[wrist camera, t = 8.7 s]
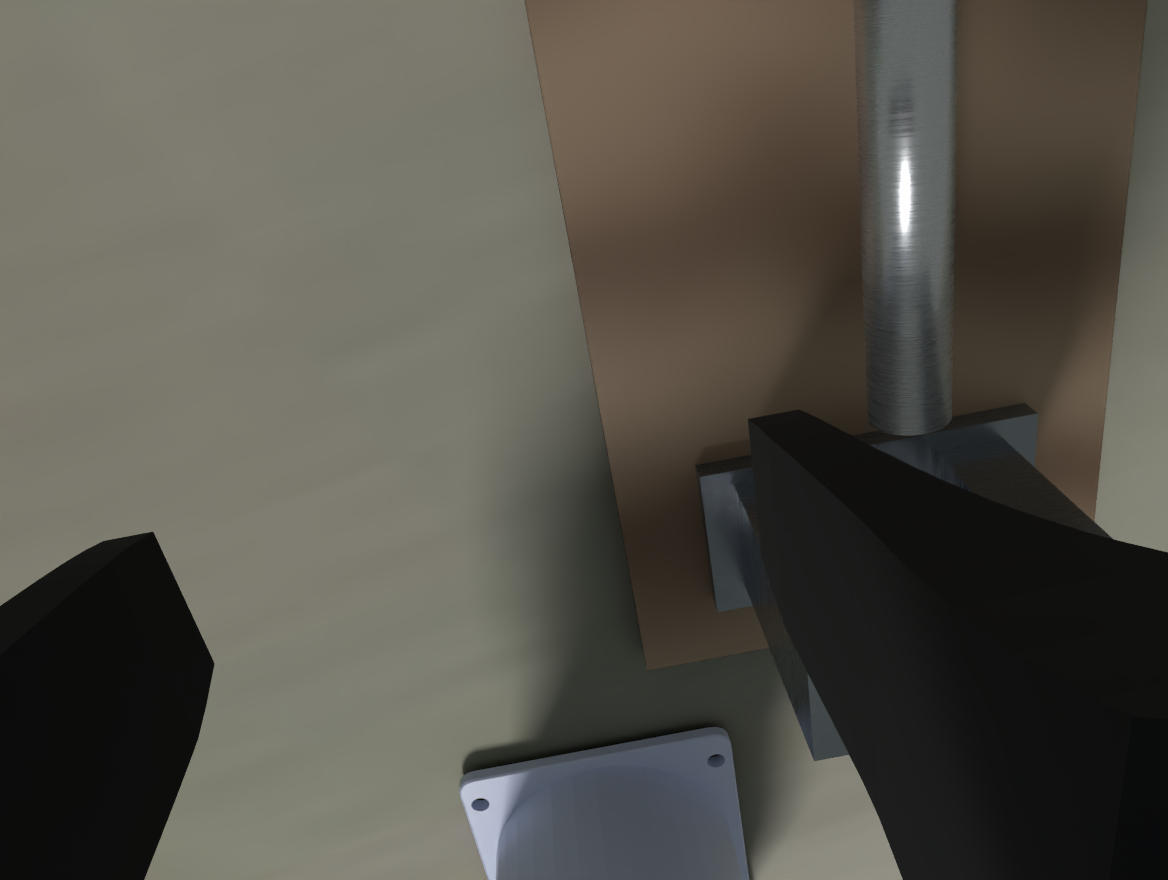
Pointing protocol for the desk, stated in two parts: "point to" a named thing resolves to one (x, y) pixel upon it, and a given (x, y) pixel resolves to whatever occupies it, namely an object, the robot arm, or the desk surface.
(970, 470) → the slotted metal block
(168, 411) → the desk surface
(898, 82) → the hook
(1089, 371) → the board
